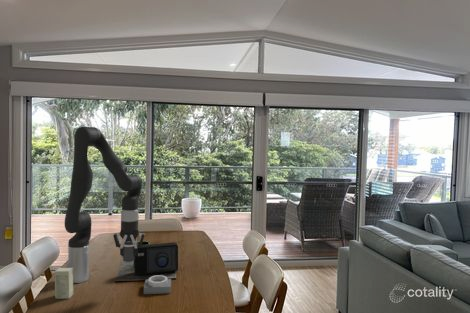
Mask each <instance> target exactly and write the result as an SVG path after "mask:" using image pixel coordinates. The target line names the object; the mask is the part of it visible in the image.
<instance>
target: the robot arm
mask: <svg viewBox="0 0 470 313" xmlns="http://www.w3.org/2000/svg"><path fill="white" fill-rule="evenodd" d="M89 147H94V148H95V149H97V150H98V151H99V153H100V154H101V157H102V158H101V159H102V162H103V165H104V166H105V168H106V169H107V170H108V172H110V174H112V176H113V178H114V181H115V182H116V184H117V187H118V188H119V189H120V190H122V191H123V192H127V194H125V196H123V197H122V198H121V213H120V232H115V233H114V234H113V240H114V244H115V247H116V248H119V254H120V256H121V257H122V258H123V246H124V243H125V242H128V241H130V242H133V244H134V247H135V248H134V256H136V255H137V253H138V247H141V246H142V245H143V244H144V239H145V236H146V233H144V232H143V233H141V232H140V231H139V218H140V217H139V198H140V196H141V192H142V188H143V181H142V177H141V176H140V175H139V174H137V173H136V174H135V173H134V174H127V172H128V167H127V165H126V164H125V163H124V162H123V161H122V160H121V159H120V157H119V156H118V155H117V154H116V153H115V151H114V150H113V148H112V146H110V144H109V142H108V140H107V139H106V137H105V136H104V134H103V133H102V131H101V130H100V129H99V128H98V127H95V126H79V127H78V128H76V130H75V132H74V137H73V162H72V163H73V164H72V173H71V178H70V179H71V182H70V191H69V198H68V203H67V208H66V212H65V217H64V229H65V230H66V232H67V233H69V234H74V235H73V236H72V237H70V238H69V240H68V245H67V246H68V248H67V253H68V255H67V256H68V258H67V259H68V261H67V262H66V268H73V284H80V283H84V282H86V281H88V280H89V277H90V276H89V275H90V269H89V268H90V240H91V237H92V217H91V215H90V213H89V212H87V211H86V210H85V211H81V207H82V205H83V202H84V201H85V200H86V197H87V196H88V195H89V193H90V192H91V190H92V187H93V180H94V171H93V170H92V167H91V164H90V163H89V160H88V153H89V152H88V151H89V150H88V149H89ZM138 236H139V238H140V240H139V243H138V242H137V238H138ZM120 237H121V239H122V240H121V243H120V239H119V238H120Z"/></svg>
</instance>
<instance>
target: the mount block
mask: <svg viewBox="0 0 470 313" xmlns="http://www.w3.org/2000/svg"><path fill="white" fill-rule="evenodd" d="M171 290H172V278H168V277H167V276H166V275H163V274H160V275H159V274H158V275H156V274H155V275H152V276H150V277H148V279H145V281H144V285H143V295H152V294H153V295H156V294H159V295H161V294H171Z"/></svg>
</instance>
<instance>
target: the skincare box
mask: <svg viewBox="0 0 470 313" xmlns="http://www.w3.org/2000/svg"><path fill="white" fill-rule="evenodd" d="M54 294H55V295H54V298H55V299H58V300H60V299H61V300H63V299H71V298H72V296H73V295H74V283H73V268H67V267H58V268H57V269H56V270H54Z"/></svg>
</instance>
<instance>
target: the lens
mask: <svg viewBox="0 0 470 313" xmlns="http://www.w3.org/2000/svg"><path fill="white" fill-rule="evenodd" d="M134 248H135V247H134V244H133V242H130V241H128V242H125V243H124V246H123V257H122V258H123V259H122V261H123V262H126V263H130V262H135V261H134Z"/></svg>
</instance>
